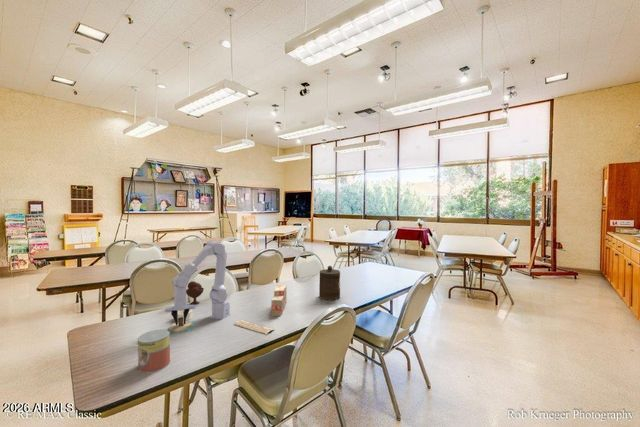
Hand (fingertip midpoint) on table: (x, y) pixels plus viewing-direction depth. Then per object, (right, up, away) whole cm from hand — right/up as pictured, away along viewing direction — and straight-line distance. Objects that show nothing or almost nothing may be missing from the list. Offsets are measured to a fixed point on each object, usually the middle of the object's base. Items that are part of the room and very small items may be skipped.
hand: (180, 323), depth 150 cm
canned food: (+6, -4, -34) cm, 35 cm away
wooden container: (+80, -1, +53) cm, 96 cm away
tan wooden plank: (+38, -3, +2) cm, 39 cm away
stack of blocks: (+48, -2, +28) cm, 56 cm away
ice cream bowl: (-9, -2, +38) cm, 39 cm away
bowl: (-4, -2, +12) cm, 13 cm away
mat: (0, -2, 0) cm, 2 cm away
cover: (0, -2, 0) cm, 2 cm away
